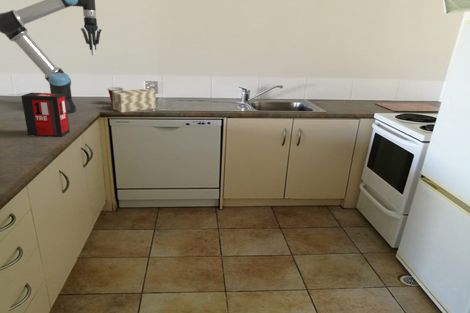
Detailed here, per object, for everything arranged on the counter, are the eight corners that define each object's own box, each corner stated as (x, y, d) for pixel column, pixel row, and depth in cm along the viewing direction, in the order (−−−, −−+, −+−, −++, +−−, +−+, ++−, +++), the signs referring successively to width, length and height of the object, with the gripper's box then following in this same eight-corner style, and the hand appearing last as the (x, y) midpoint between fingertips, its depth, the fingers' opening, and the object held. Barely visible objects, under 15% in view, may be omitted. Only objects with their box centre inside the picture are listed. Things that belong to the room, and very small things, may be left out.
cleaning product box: (28, 135, 166) (21, 95, 159) (37, 130, 175) (31, 92, 168) (62, 137, 167) (56, 97, 160) (69, 132, 175) (64, 93, 168)
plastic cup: (114, 107, 235) (113, 89, 231) (105, 104, 241) (104, 87, 237) (127, 105, 243) (126, 88, 239) (118, 102, 249) (117, 86, 245)
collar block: (121, 112, 221) (120, 94, 217) (113, 109, 229) (111, 91, 225) (155, 108, 238) (155, 91, 234) (147, 105, 246) (146, 88, 242)
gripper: (82, 16, 209) (86, 55, 218) (102, 18, 218) (105, 55, 226) (77, 16, 214) (81, 54, 223) (97, 17, 223) (100, 54, 231)
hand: (93, 55), depth 224 cm, fingers closed
